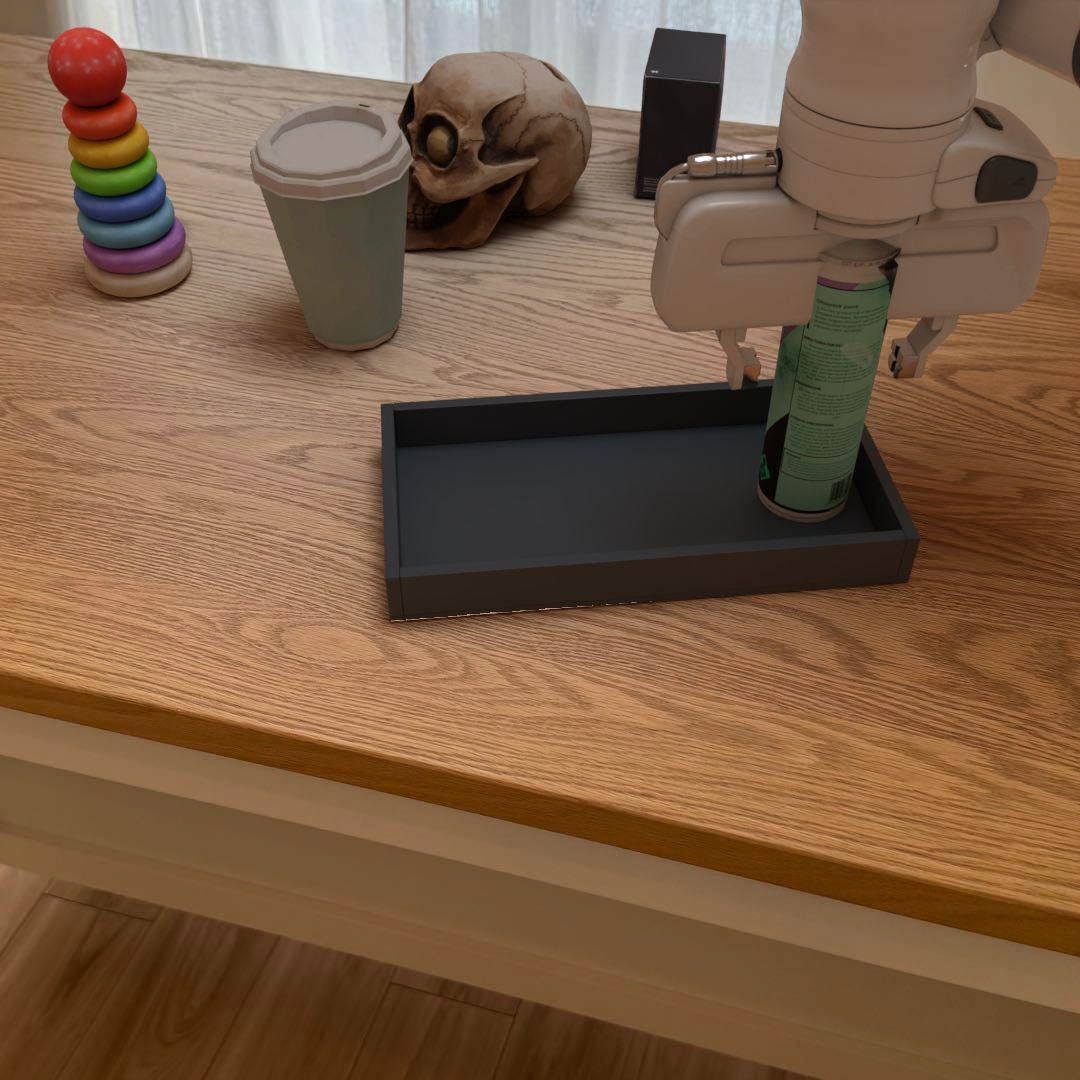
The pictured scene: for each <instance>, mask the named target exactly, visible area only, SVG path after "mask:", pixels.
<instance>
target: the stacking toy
mask: <svg viewBox="0 0 1080 1080" xmlns="http://www.w3.org/2000/svg"><path fill="white" fill-rule="evenodd" d="M46 60H47V61H46V63H47V71H48V74H49V77H50V79H51V82H52V83H53V85H54V87H55V89H57V91H58V92H59V93H60V94H61V95H62V96H63V97H64V98H66V99H67V101H66V102H65V103H64V105H63V108H62V110H61V120H62V122H63V124H64V126H65V128H66V129H67V130H68V131H69V133H70V134H69V135H68V139H67V147H68V151H69V153H70V155H71V157H72V160H71V163H70V166H69V171H70V172H69V173H70V175H71V178H72V180H73V182H74V184H75V186H74V190H73V200H74V203H75V205H76V207H77V208H78V212H77V216H76V222H77V227H78V228H79V231H80V233H81V234H82V235H83V236H82V237H83V238H82V247H83V252H84V254H85V256H86V258H85V261H84V273H85V276H86V278H87V280H88V281H89V282H90V284H91V285H92V286H93V287H94V288H95V289H97V290H98V291H100V292H102V293H104V294H107V295H111V296H114V297H121V298H139V297H147V296H152V295H155V294H159V293H162V292H163V291H166V290H168V289H171V288H173V287H174V286H176V285H178V284H179V283H181V282H182V281H183V280H184V279H185V278H186V277H187V276H188V274H189V273H190V271H191V268H192V265H193V259H194V258H193V252H192V249H191V247H190V245H189V243H187V241H186V238H187V237H186V236H187V235H186V230H185V227H184V225H183V223H182V222H181V221H180V219H179V218H178V217H176V215H175V214H176V212H175V207H174V205H173V202H172V201H171V198H169V196H167V185H166V181H165V180H164V178H163V176H162V175H161V174H160V173H159V172H158V161H157V158H156V155H155V153H154V152H153V151H152V150H151V149H150V148H149V146H150V136H149V133H148V130H147V129H146V128H145V126H144V125H143V124H142V123H140V122H139V121H137V120H138V109H137V105H136V103H135V101H134V100H133V98H131V96H129V95H128V94H126V93H124V92H123V89H124V88H125V85H126V83H127V77H128V65H127V60H126V57H125V55H124V52H123V50H122V49H121V47H120V45H119V44H118V43H117V42H116V41H115V40H114V39H113V38H112V37H111V36H109V35H108V34H107V33H105V32H103V31H101V30H99V29H96V28H93V27H89V26H87V27H86V26H81V27H80V26H79V27H74V28H70V29H67V30H65V31H63V32H62V33H60V34H59V35H58V36H57V37H56V38H55V39H54V41H53V42H52V44H51V45H50V47H49V50H48V52H47V59H46Z"/></svg>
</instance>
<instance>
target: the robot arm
mask: <svg viewBox="0 0 1080 1080" xmlns="http://www.w3.org/2000/svg"><path fill="white" fill-rule="evenodd" d="M799 5H800V13H801V26H800V27H801V28H800V34H799V39H798V42H797V44H796V48H795V50H794V53H793V54H792V57H791V59H790V61H789V63H788V66H787V70H786V74H785V79H784V81H785V82H784V89H783V94H782V101H781V110H780V116H779V124H778V130H777V137H776V145H775V149H766V150H765V149H764V150H748V151H746V150H745V151H741V152H735V153H726V154H725V153H724V154H716V153H715V154H714V153H702V154H696V155H692V156H689V157H688V158H687V163H683V164H680V165H678V166H676V167H674V168H672V169H671V170H669V171H668V172H667V173H666V174H665V175H664V176H663V177H662V178H661V179H660V181H659V183H658V186H657V190H656V193H655V198H654V207H653V208H654V210H653V221H654V222H653V223H654V226H655V228H656V230H657V232H658V236H657V240H656V245H655V250H654V255H653V260H652V265H651V266H652V267H651V274H650V281H649V282H650V285H649V288H650V295H651V299H652V303H653V306H654V309H655V312H656V314H657V316H658V318H659V319H660V320H661V322H663V324H664V325H665V326H666V327H667V329H669V330H670V331H671V332H674V333H691V332H693V333H694V332H709V331H714V332H715V335H716V337H717V340H718V343H719V345H720V346H721V348H722V350H723V352H724V353H725V356H726V365H725V366H726V367H725V375H726V380H727V382H728V383H729V386H730V389H731V390H736V389H752V388H757V387H758V384H759V381H758V380H759V377H760V376H761V370H762V363H761V361H760V359H759V357H757V352H756V349H755V347H751V346H750V347H740V345H739V343H744V342H745V341H746V338H747V330H748V329H758V328H771V327H773V328H774V327H783V326H793V325H806V324H808V322H809V320H810V318H811V316H812V310H813V303H814V297H815V290H816V284H817V277H818V271H819V269H820V268H821V267H822V266H823V265H824V264H825V262H824V261H822V260H820V259H819V258H818V253H825V252H826V251H827V250H829V249H830V248H832V247H834V246H836V245H838V244H840V243H843V242H846V241H849V240H852V239H878V240H881V241H884V242H886V243H888V244H890V245H892V246H893V247H894V248H895V249H896V250H898V249H899V248H901V252H900V254H899V255H898V256H897V257H896V258H895V261H896V262H897V263H898V269H897V274H896V278H895V282H894V286H893V291H892V295H891V299H890V304H889V308H888V313H887V320H888V321H889V320H893V321H894V320H906V319H908V320H909V319H919V321H918V322H917V323H916V325H915V326H914V327H913V328H912V329H911V331H910V332H909V333H908V334H907V336H906V337H899V338H898V337H897V338H896V337H895V338H892V340H891V345H890V350H891V352H890V353H889V354H888V359H887V366H888V369H889V371H890V372H891V373H892V377H893V379H894V380H903V379H904V380H905V379H921V378H922V377H923V376H924V372H925V369H926V365H927V360H928V358H929V355H931V354H933V353H934V352H935V351H936V349H938V347H940V345H942V343H943V342H944V341H945V340H946V339H948V337H950V335H952V334H953V332H955V330H956V328H957V325H958V322H959V321H958V320H959V317H960V316H973V315H974V316H976V315H989V314H991V315H993V314H1008V313H1012V312H1014V311H1015V310H1017V309H1019V308H1020V307H1021V306H1022V305H1023V304H1025V302H1026V301H1028V300H1029V299H1030V297H1032V296H1033V293H1034V292H1035V290H1036V287H1037V284H1038V280H1039V277H1040V274H1041V271H1042V267H1043V263H1044V259H1045V255H1046V250H1047V245H1048V240H1049V234H1050V228H1051V217H1050V210H1049V208H1048V206H1047V204H1046V203H1045V201H1044V200H1043V199H1045V198H1046V197H1048V195H1049V194H1050V193H1051V192H1052V190H1053V188H1054V186H1055V183H1056V180H1057V177H1058V174H1059V165H1058V163H1057V162H1056V160H1055V158H1054V156H1053V154H1052V153H1051V152H1050V151H1049V149H1048V148H1047V146H1046V145H1045V144H1044V143H1043V141H1042V140H1041V139H1040V138H1039V137H1038V135H1036V133H1035V132H1034V131H1033V130H1032V129H1031V128H1030V127H1029V126H1028V125H1027V124H1026V123H1025V122H1024V121H1023V120H1022V119H1020V118H1019V117H1018V116H1017V115H1016V114H1015V113H1014V112H1012V111H1011V110H1010V109H1008V108H1007V107H1005V106H1004V105H1000V104H998V103H995V102H991V101H988V100H984V99H980V98H977V97H976V96H977V92H978V91H977V89H978V75H977V74H978V73H977V63H978V61H979V60H980V59H981V58H982V57H983V56H984V55H986V54H990V53H994V52H999V51H1001V50H1002V51H1003V52H1005V53H1006V54H1008V55H1009V56H1011V57H1013V58H1016V59H1018V60H1020V61H1022V62H1023V63H1027V64H1029V65H1031V66H1033V67H1035V68H1038V69H1039V70H1041V71H1044V72H1046V73H1048V74H1050V75H1053V76H1054V77H1057V78H1059V79H1062V80H1064V81H1066V82H1068V83H1070V84H1072V85H1074V86H1077V87H1078V89H1080V0H799ZM685 171H687V174H681V175H678V174H680V173H683V172H685Z"/></svg>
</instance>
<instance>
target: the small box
mask: <svg viewBox="0 0 1080 1080" xmlns="http://www.w3.org/2000/svg"><path fill="white" fill-rule="evenodd" d="M726 55H727V34H726V33H716V32H705V31H694V30H686V29H685V30H684V29H675V28H666V27H655V29H654V33H653V37H652V42H651V45H650V49H649V53H648V57H647V61H646V64H645V69H644V73H643V79H642V89H641V90H642V92H641V104H640V105H641V108H640V120H639V139H638V149H637V150H638V152H637V162H636V171H635V180H634V182H635V183H634V193H633V195H634V197H640V198H642V197H643V198H653V199H655V193H656V190H657V186H658V183H659V181H660V179H661V178H662V177H663V176H664V175H665V174H666V173H667V172H668V171H669V170H671V169H672V168H674V167H676V166H678V165H680V164H683V163H687V158H688V157H689V156H692V155H696V154H702V153H714V154H715V155H716V152H717V151H716V150H717V144H718V137H719V130H720V123H721V116H722V115H721V114H722V108H723V107H722V106H723V97H724V87H725V73H726V72H725V71H726ZM681 174H687V171H685V172H683V173H680V174H678V175H681Z"/></svg>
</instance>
